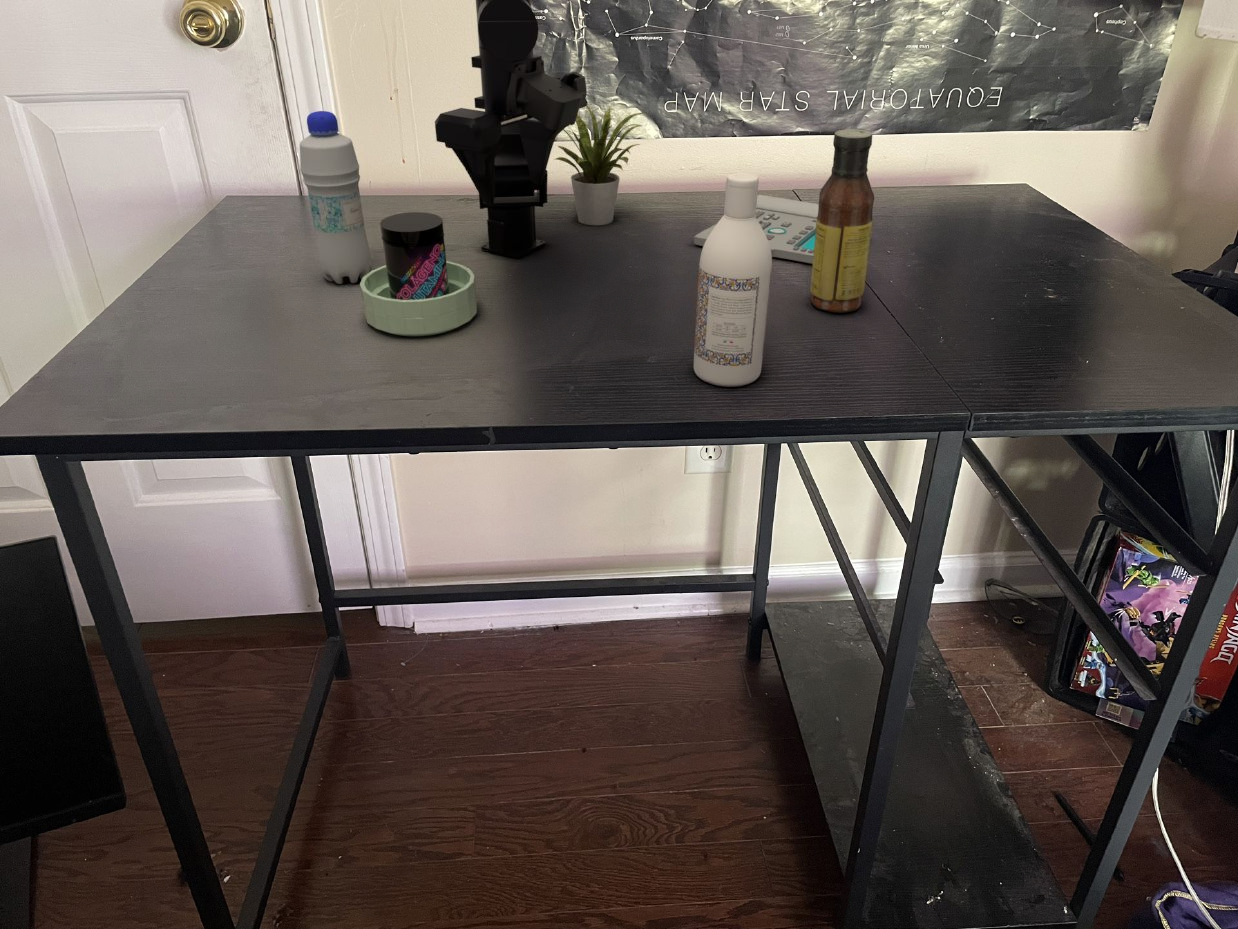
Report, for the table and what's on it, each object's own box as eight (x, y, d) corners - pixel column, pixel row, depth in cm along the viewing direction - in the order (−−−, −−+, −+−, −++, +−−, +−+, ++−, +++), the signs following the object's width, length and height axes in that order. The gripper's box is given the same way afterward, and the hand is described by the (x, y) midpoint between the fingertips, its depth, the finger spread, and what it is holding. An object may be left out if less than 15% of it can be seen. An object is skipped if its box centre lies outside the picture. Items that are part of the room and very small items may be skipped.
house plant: (669, 216, 136) (674, 101, 127) (620, 242, 126) (621, 119, 117) (590, 200, 142) (589, 90, 133) (538, 223, 132) (533, 106, 123)
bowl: (418, 287, 111) (414, 252, 109) (499, 309, 106) (496, 273, 103) (342, 323, 102) (336, 285, 100) (426, 349, 97) (422, 310, 94)
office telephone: (759, 187, 140) (886, 207, 132) (757, 204, 142) (883, 225, 133) (694, 226, 123) (835, 252, 115) (693, 245, 125) (832, 272, 116)
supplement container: (384, 321, 101) (371, 230, 96) (401, 298, 107) (389, 211, 101) (443, 323, 101) (434, 232, 95) (457, 300, 107) (449, 213, 101)
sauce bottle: (864, 298, 110) (892, 128, 99) (858, 318, 105) (887, 141, 94) (810, 291, 111) (831, 123, 100) (801, 310, 106) (823, 136, 96)
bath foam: (718, 352, 97) (732, 162, 86) (773, 371, 93) (795, 175, 82) (679, 374, 92) (689, 177, 81) (735, 396, 89) (754, 192, 78)
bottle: (361, 289, 111) (334, 119, 100) (310, 285, 112) (278, 115, 101) (383, 270, 116) (360, 106, 105) (335, 266, 117) (307, 103, 106)
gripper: (513, 66, 85) (521, 228, 94) (616, 41, 99) (616, 185, 107) (424, 55, 90) (439, 210, 99) (534, 33, 103) (539, 171, 112)
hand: (514, 193), depth 104 cm, fingers open, 9 cm apart
